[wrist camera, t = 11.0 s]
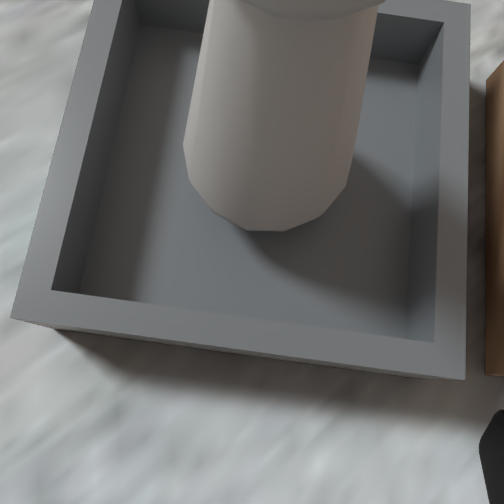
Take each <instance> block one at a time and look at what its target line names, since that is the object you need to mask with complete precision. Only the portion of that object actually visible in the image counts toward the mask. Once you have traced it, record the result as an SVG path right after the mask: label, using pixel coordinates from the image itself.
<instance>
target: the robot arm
mask: <svg viewBox="0 0 504 504" xmlns="http://www.w3.org/2000/svg"><path fill="white" fill-rule="evenodd" d="M479 455H480V460H481V465H482V470H483V474H484V479H485V484H486V489H487V494H488V499H489V503H490V504H504V410H499V411H497V412H496V413H495V414H494V416H493V418H492V419H491V421H490V423H489V425H488V426H487V428H486V430H485V432H484V434H483V435H482V437H481V439H480V443H479Z"/></svg>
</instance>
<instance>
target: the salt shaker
mask: <svg viewBox="0 0 504 504" xmlns="http://www.w3.org/2000/svg"><path fill="white" fill-rule="evenodd" d="M385 1H386V0H210V1H209V7H208V12H207V18H206V23H205V28H204V34H203V39H202V45H201V50H200V55H199V61H198V66H197V71H196V77H195V82H194V88H193V93H192V98H191V104H190V109H189V114H188V120H187V125H186V131H185V136H184V141H183V149H184V154H185V160H186V166H187V171H188V177H189V181H190V182H191V184H192V186H193V187H194V188H195V190H196V191H197V192H198V194H199V195H200V196H201V197H202V199H203V200H204V201H205V203H206V204H207V205H208V207H209V208H210V209H211V210H212V212H213V213H214V214H216V215H218V216H220V217H222V218H224V219H226V220H228V221H230V222H231V223H233V224H235V225H237V226H239V227H241V228H243V229H245V230H249V231H278V232H284V231H287V230H289V229H292V228H294V227H297V226H299V225H302V224H304V223H307V222H309V221H312V220H314V219H316V218H318V217H320V216H321V215H323V213H324V212H325V211H326V210H327V209H328V207H329V206H330V205H331V204H332V203H333V201H334V200H335V199H336V198H337V196H338V195H339V194H340V193H341V192H342V190H343V189H344V188H345V187H346V183H347V179H348V175H349V171H350V166H351V162H352V158H353V154H354V149H355V143H356V137H357V131H358V125H359V119H360V113H361V107H362V101H363V95H364V89H365V83H366V77H367V72H368V66H369V60H370V54H371V48H372V42H373V36H374V30H375V24H376V18H377V12H378V6H379V4H382V3H383V2H385Z"/></svg>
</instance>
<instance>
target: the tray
mask: <svg viewBox="0 0 504 504" xmlns="http://www.w3.org/2000/svg"><path fill="white" fill-rule="evenodd" d="M209 1H210V0H94V2H93V6H92V10H91V14H90V18H89V21H88V25H87V29H86V33H85V36H84V40H83V44H82V48H81V52H80V55H79V59H78V63H77V67H76V70H75V74H74V78H73V82H72V86H71V89H70V93H69V97H68V101H67V104H66V108H65V112H64V116H63V119H62V123H61V127H60V131H59V135H58V138H57V142H56V146H55V150H54V153H53V157H52V161H51V165H50V169H49V172H48V176H47V180H46V184H45V187H44V191H43V195H42V199H41V203H40V206H39V210H38V214H37V218H36V221H35V225H34V229H33V233H32V237H31V240H30V244H29V248H28V252H27V255H26V259H25V263H24V267H23V271H22V274H21V278H20V282H19V286H18V289H17V293H16V297H15V301H14V305H13V308H12V312H11V316H10V318H13V319H17V320H21V321H25V322H29V323H33V324H37V325H41V326H45V327H49V328H53V329H60V330H67V331H74V332H82V333H89V334H96V335H104V336H111V337H118V338H125V339H133V340H140V341H147V342H155V343H162V344H169V345H176V346H184V347H191V348H198V349H206V350H213V351H220V352H228V353H235V354H242V355H249V356H257V357H264V358H271V359H279V360H286V361H293V362H300V363H308V364H315V365H322V366H330V367H337V368H344V369H351V370H359V371H366V372H373V373H381V374H388V375H395V376H402V377H410V378H417V379H439V380H465V368H466V296H467V224H468V153H469V81H470V9H471V4H466V3H459V2H452V1H445V0H386V1H385V2H383V3H382V4H379V6H378V12H377V18H376V24H375V30H374V36H373V42H372V48H371V54H370V60H369V66H368V72H367V77H366V83H365V89H364V95H363V101H362V107H361V113H360V119H359V125H358V131H357V137H356V143H355V149H354V154H353V158H352V162H351V166H350V171H349V175H348V179H347V183H346V187H345V188H344V189H343V190H342V192H341V193H340V194H339V195H338V196H337V198H336V199H335V200H334V201H333V203H332V204H331V205H330V206H329V207H328V209H327V210H326V211H325V212H324V213H323V215H321V216H320V217H318V218H316V219H314V220H312V221H309V222H307V223H304V224H302V225H299V226H297V227H294V228H292V229H289V230H287V231H284V232H278V231H249V230H245V229H243V228H241V227H239V226H237V225H235V224H233V223H231V222H230V221H228V220H226V219H224V218H222V217H220V216H218V215H216V214H214V213H213V212H212V210H211V209H210V208H209V207H208V205H207V204H206V203H205V201H204V200H203V199H202V197H201V196H200V195H199V194H198V192H197V191H196V190H195V188H194V187H193V186H192V184H191V182H190V181H189V177H188V171H187V166H186V160H185V154H184V149H183V141H184V136H185V131H186V125H187V120H188V114H189V109H190V104H191V98H192V93H193V88H194V82H195V77H196V71H197V66H198V61H199V55H200V50H201V45H202V39H203V34H204V28H205V23H206V18H207V12H208V7H209Z"/></svg>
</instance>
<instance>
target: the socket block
mask: <svg viewBox="0 0 504 504" xmlns="http://www.w3.org/2000/svg"><path fill="white" fill-rule="evenodd" d="M485 374H486V375H494V376H501V377H504V61H503V62H502V63H501V64H500V65H499V66H498V67H497V69H496V70H495V71H494V72H493V73H492V74H491V75H490V77H489V78H488V79H487V80H486V319H485Z"/></svg>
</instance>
